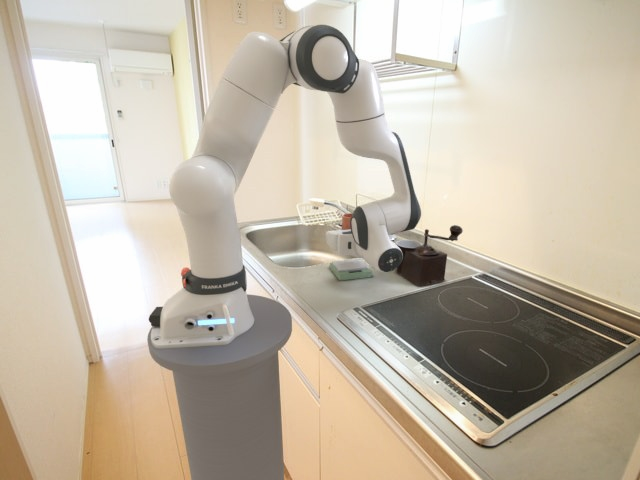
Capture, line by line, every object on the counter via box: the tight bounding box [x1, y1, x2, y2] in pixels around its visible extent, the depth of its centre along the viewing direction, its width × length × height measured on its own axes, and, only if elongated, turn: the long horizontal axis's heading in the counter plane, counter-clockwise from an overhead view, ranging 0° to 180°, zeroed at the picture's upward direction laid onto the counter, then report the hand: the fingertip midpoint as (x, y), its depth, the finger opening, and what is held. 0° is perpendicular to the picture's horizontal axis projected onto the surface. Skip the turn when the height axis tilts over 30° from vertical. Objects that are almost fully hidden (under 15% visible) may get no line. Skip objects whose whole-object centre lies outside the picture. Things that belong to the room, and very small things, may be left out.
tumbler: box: [341, 212, 353, 230], centre depth 116 cm, size 6×6×11 cm
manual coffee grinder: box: [400, 224, 464, 287], centre depth 116 cm, size 16×11×18 cm
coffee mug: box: [395, 239, 423, 275], centre depth 122 cm, size 12×9×10 cm
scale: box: [329, 258, 373, 281], centre depth 121 cm, size 11×11×3 cm
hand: (350, 230), depth 117 cm, fingers closed on tumbler, 6 cm apart
